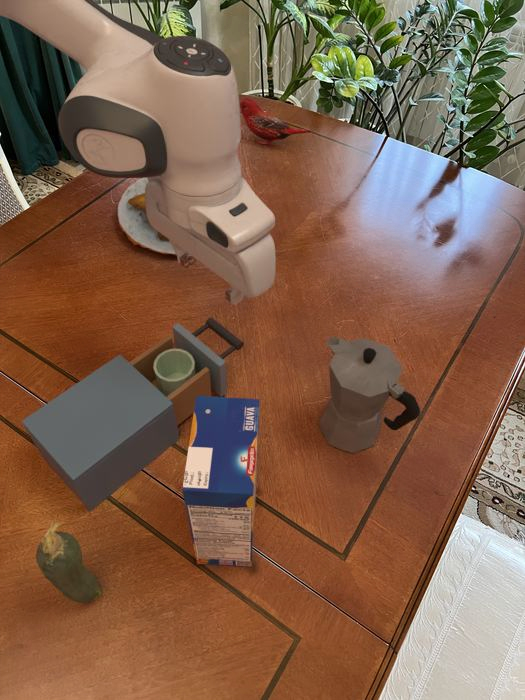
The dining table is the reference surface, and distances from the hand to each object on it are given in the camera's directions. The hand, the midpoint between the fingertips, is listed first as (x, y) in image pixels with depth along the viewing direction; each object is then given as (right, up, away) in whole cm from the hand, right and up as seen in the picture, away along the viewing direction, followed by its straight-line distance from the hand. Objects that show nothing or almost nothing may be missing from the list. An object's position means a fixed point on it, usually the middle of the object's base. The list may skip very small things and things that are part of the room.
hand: (210, 281), depth 76 cm
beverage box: (+2, -32, 0) cm, 32 cm away
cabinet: (-15, -23, +6) cm, 28 cm away
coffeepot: (+21, -21, +9) cm, 31 cm away
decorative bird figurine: (+9, +37, +55) cm, 67 cm away
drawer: (-5, -15, +12) cm, 20 cm away
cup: (-6, -15, +10) cm, 19 cm away
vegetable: (-14, -39, -6) cm, 42 cm away
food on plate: (-9, +17, +39) cm, 43 cm away
